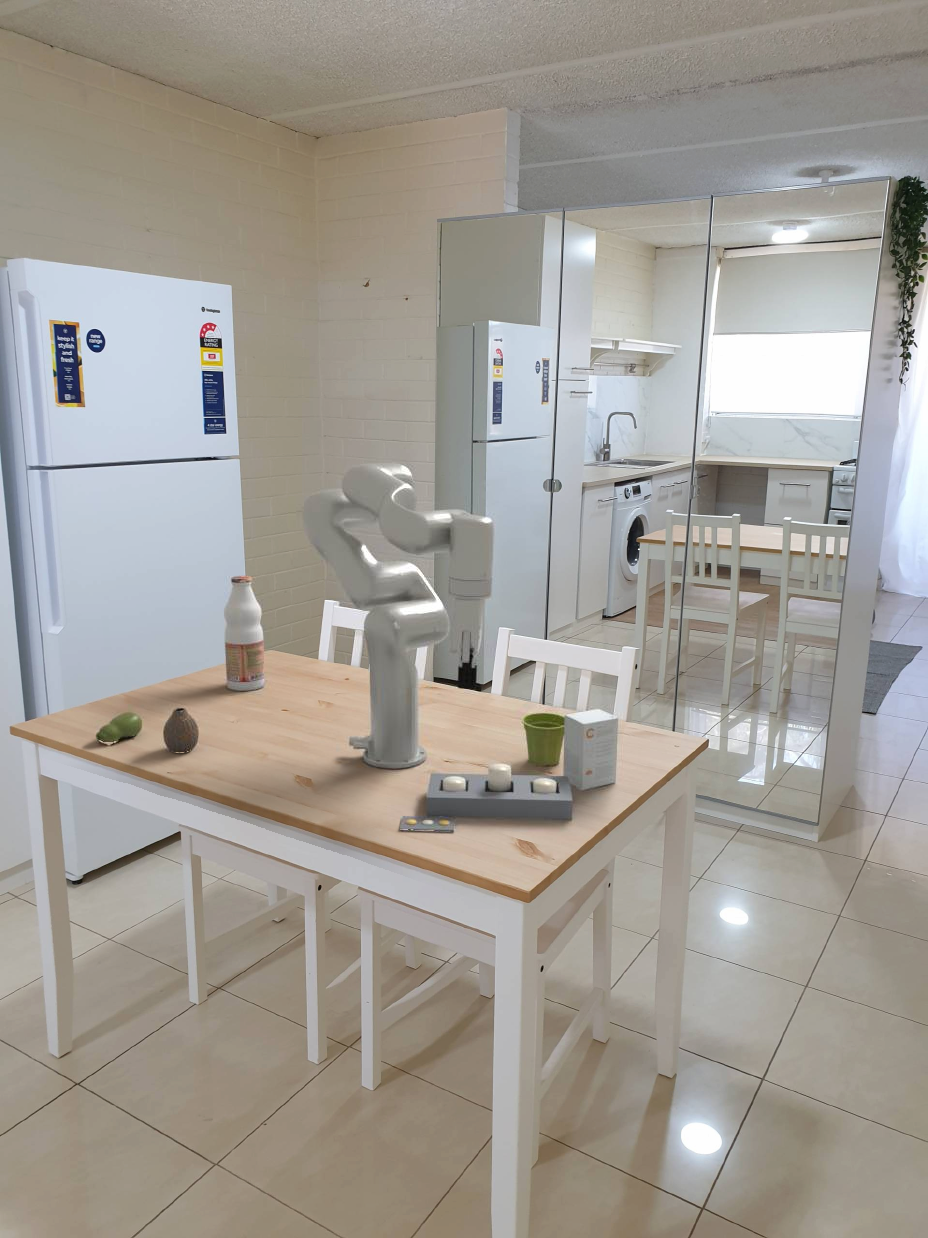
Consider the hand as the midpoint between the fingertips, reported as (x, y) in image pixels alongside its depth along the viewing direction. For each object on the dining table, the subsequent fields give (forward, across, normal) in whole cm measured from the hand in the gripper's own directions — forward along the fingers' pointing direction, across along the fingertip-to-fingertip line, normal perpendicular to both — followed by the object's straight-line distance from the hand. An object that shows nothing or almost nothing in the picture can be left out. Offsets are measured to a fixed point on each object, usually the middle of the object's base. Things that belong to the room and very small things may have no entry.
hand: (467, 687), depth 168 cm
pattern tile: (+20, +15, -5) cm, 25 cm away
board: (+20, +6, +7) cm, 22 cm away
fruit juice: (+23, -61, -60) cm, 89 cm away
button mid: (+16, +6, +7) cm, 18 cm away
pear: (+23, -20, -75) cm, 81 cm away
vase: (+22, -15, -59) cm, 65 cm away
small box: (+20, -7, +23) cm, 31 cm away
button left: (+19, +6, -1) cm, 20 cm away
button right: (+19, +5, +15) cm, 24 cm away
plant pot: (+20, -17, +15) cm, 30 cm away
